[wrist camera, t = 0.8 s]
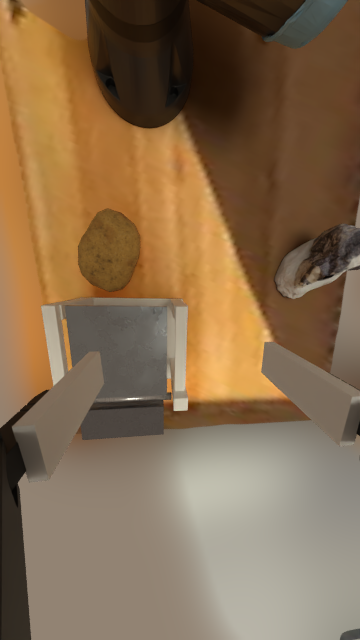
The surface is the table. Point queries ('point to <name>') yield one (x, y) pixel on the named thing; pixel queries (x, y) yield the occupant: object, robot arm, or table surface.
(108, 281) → the potato
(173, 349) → the frame
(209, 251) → the table surface
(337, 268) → the stone
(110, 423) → the flap
